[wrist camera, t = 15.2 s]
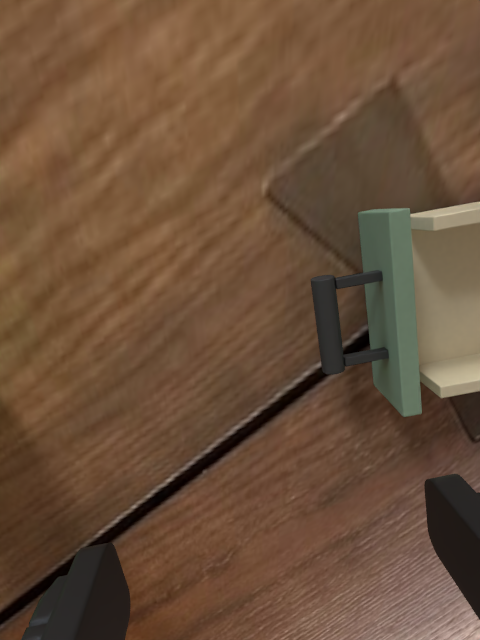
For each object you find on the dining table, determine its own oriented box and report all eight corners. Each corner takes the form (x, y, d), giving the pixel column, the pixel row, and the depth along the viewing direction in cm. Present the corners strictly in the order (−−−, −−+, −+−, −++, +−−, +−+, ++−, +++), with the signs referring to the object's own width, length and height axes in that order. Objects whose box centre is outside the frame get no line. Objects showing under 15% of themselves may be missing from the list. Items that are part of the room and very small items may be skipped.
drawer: (317, 395, 29) (336, 430, 24) (293, 224, 25) (310, 225, 21) (566, 348, 29) (633, 374, 24) (575, 172, 25) (654, 162, 21)
